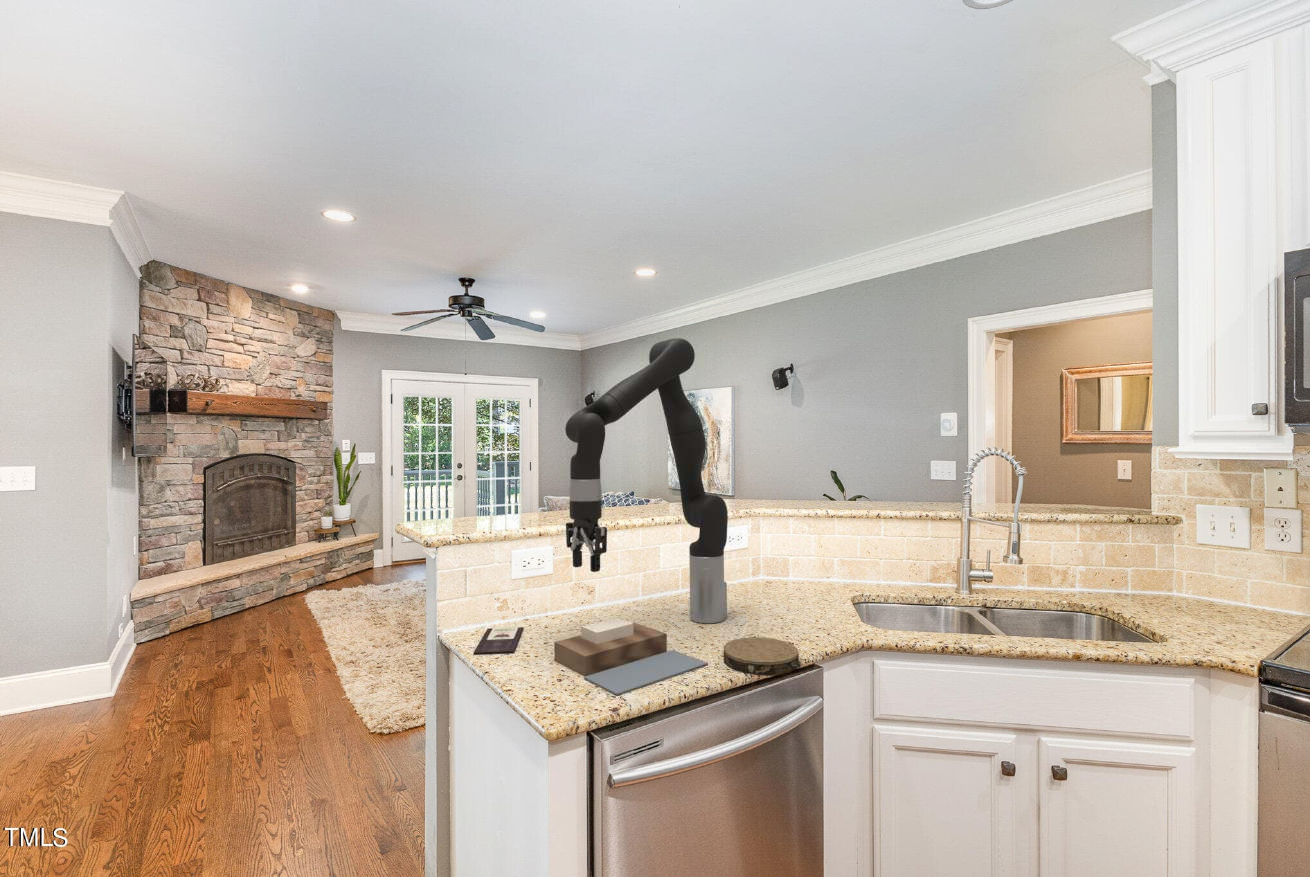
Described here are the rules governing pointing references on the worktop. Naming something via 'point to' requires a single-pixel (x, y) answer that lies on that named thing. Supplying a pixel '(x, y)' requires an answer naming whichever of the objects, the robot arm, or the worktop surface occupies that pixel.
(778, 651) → the brown round disc
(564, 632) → the worktop surface
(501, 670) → the worktop surface
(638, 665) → the mat
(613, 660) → the board
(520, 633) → the chocolate bar
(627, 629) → the tile
